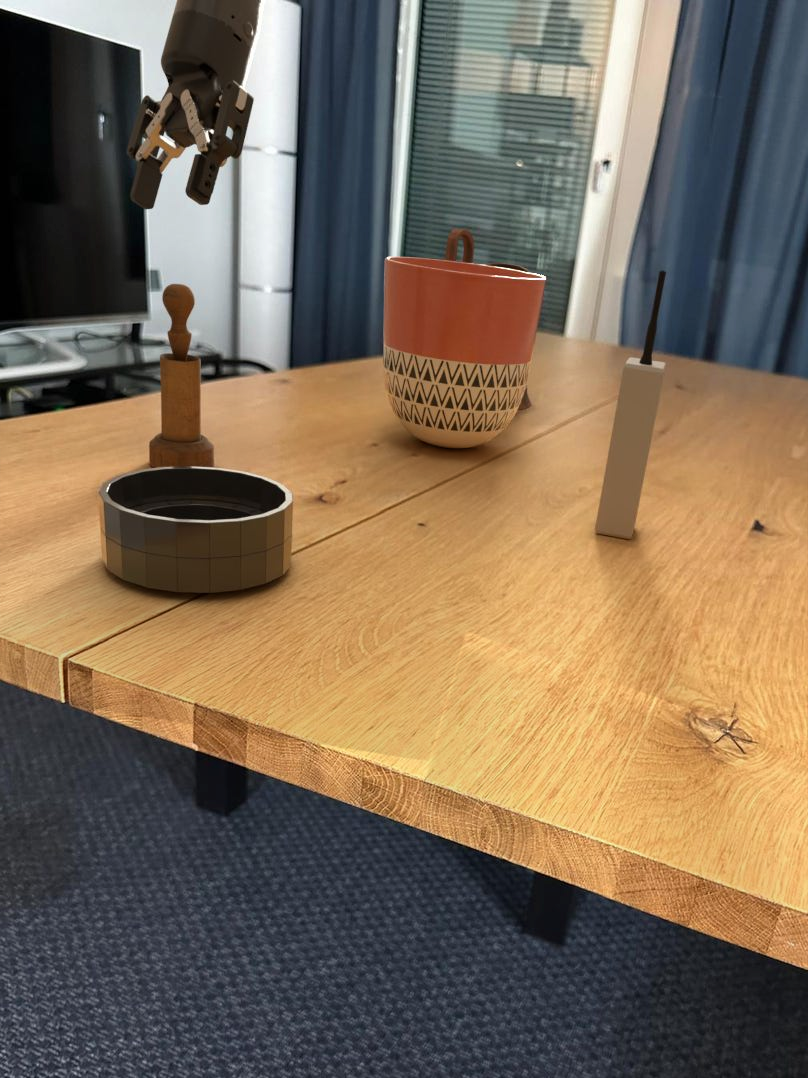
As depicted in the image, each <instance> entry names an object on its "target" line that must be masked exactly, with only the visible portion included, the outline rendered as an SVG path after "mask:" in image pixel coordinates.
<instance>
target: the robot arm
mask: <svg viewBox="0 0 808 1078" xmlns="http://www.w3.org/2000/svg"><path fill="white" fill-rule="evenodd" d="M265 3H266V0H176V3H175V6H174V8H173V9H174V10H173V13H172V17H171V21H170V25H169V28H168V32H167V35H166V39H165V43H164V46H163V50H162V54H161V57H160V66H161V69H162V72H163V73H164V75H165V78H166V80H167V83H168V85H167V88H166V91H165V92H164V95H163V96H162V98H161V100H159V101H156V100H155V99H154V98H152V97H151V96H150V95H148V94H147V95H145V96H144V97H143V98H142V100H141V103H140V106H139V109H138V112H137V116H136V119H135V122H134V125H133V129H132V132H131V135H130V138H129V141H128V144H127V148H126V155H127V156H129V157H130V158H131V159H133V160H134V161H136V162H137V169H136V172H135V176H134V179H133V183H132V186H131V190H130V194H129V198H130V200H131V201H132V202H133V203H134V204H135V205H138V206H139V207H141V208H142V209H144V210H152V209H154V207H155V203H156V200H157V196H158V193H159V189H160V185H161V182H162V178H163V172H164V170H165V169H166V168H167V166H168V165H169V163H170V162H171V161H172V159H178V158H180V157H181V156H182V154H183V153H184V151H185V150H186V149H187V148H189V147H191V146H193V145H196V148H197V151H198V152H199V153H196V154H194V156H193V161H192V164H191V168H190V171H189V175H188V179H187V183H186V186H185V190H184V191H185V195H186V196H187V197H188V198H189V199H191V201H193V202H195V203H197V204H198V205H200V206H207V205H209V204H210V202H211V198H212V195H213V193H214V191H215V186H216V182H217V179H218V175H219V171H220V168H222V167H224V166H225V165H226V164H227V161H228V159H229V158H230V157H231V158H233V159H234V160H237V159H239V157H240V156H242V153H243V148H244V144H245V141H246V135H247V131H248V127H249V123H250V119H251V114H252V109H253V105H254V101H255V98H254V96H253V95H252V94H250V93H249V92H248V91H247V90H246V83H247V80H248V77H249V73H250V69H251V65H252V61H253V58H254V54H255V50H256V48H257V47H256V46H257V43H258V40H259V36H260V32H261V25H262V17H263V11H264V6H265ZM228 128H230V129H231V130H232V135H231V136H232V137H231V138H230V137H229V136H227V134H228V133H227V132H228ZM164 134H166V136H167V137H168V138H169V139H171V140H172V141H170V140H168V138H166V137H165V136H164ZM143 139H144V141H143V142H142V140H143ZM160 149H162V152H161V153H160V154H159V152H160ZM158 155H159V156H158Z"/></svg>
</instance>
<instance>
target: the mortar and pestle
mask: <svg viewBox="0 0 808 1078" xmlns="http://www.w3.org/2000/svg"><path fill="white" fill-rule="evenodd" d="M161 296H162V298H161V301H162V304H163V306H164V309H165V310H166V312H167V314H168V315H169V317H170V321H171V326H170V329H169V330H168V331H167V338H168V342H169V343H168V344H169V346H170V350H171V353H170V352H169V353H162V354H160V355H159V369H160V370H159V371H160V405H161V407H160V408H161V409H160V416H161V417H160V418H161V419H160V422H161V423H160V424H161V425H160V427H161V432H159V433H157V434H156V435H155V436H154V437H153V438H152V439H151V440H150V441H149V442H148V443H149V444H148V453H149V454H148V456H149V458H148V459H149V460H148V462H149V465H150V466H151V467H152V468H158V467H181V466H194V467H212V468H215V467H214V466H215V447H214V444H213V442H211V441H210V440H208V438H207V437H206V436H205V435H203V434H202V417H201V416H202V414H201V413H202V405H201V404H202V403H201V402H202V391H201V390H202V389H201V388H202V383H201V381H202V373H201V372H202V371H201V370H202V367H201V365H202V363H201V362H202V361H201V357H198V356H195V355H193V354H192V355H191V354H189V350H190V346H191V343H192V336H193V334H192V332H190V330H189V329H188V327H187V323H188V320H189V317H190V315H191V313H193V310H194V307H195V305H196V299H195V295H194V293H193V291H192V289H191V288H190V287H189V286H187V285H185V284H182V283H170V284H169V285H167V286H166V287H165V288H164V289H163V292H162V295H161Z"/></svg>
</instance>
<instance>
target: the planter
mask: <svg viewBox="0 0 808 1078" xmlns="http://www.w3.org/2000/svg"><path fill="white" fill-rule="evenodd" d="M546 285H547V277H546V276H544V275H542V274H541V275H540V274H537V273H533V272H531V273H529V272H524V271H518V270H512V269H506V268H500V267H493V266H487V265H485V264H479V263H473V264H472V263H464V262H462V261H456V262H455V261H446V260H445V259H437V258H436V259H435V258H425V257H410V256H387V257H385V259H384V273H383V327H382V328H383V329H382V334H383V335H382V337H383V338H382V341H383V342H382V346H383V347H382V368H383V369H382V370H383V381H384V387H385V392H386V396H387V400H388V402H389V406H390V407H391V410H392V412H393V414H394V415H395V416H396V418H397V419H398V420H399V423H401V424H402V426H403V427H404V428H405V429H406V430H407V431H408V432H409V433H410V434H412V435H413V436H414V437H415V438H417V439H418V440H421V442H425V443H427V444H430V445H433V446H436V447H439V448H440V447H441V448H446V449H447V448H448V449H469V448H474V447H478V446H481V445H483V444H485V443H487V442H489V441H490V440H492V439H494V438H495V437H496V436H498V435H499V434H500V433H501V432H503V431H504V430H505V428H507V426H508V425H509V424H510V423H511V422H512V420H513V419H514V417H515V415H517V414H516V413H517V412H518V410H519V409H518V408H519V405H520V403H521V400H522V398H523V395H524V392H525V388H526V385H528V380H529V375H530V369H531V363H532V360H533V354H534V349H535V344H536V338H537V332H538V326H539V322H540V317H541V312H542V306H543V302H544V296H545V291H546Z"/></svg>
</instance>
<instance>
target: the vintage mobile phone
mask: <svg viewBox="0 0 808 1078" xmlns="http://www.w3.org/2000/svg"><path fill="white" fill-rule="evenodd" d="M666 275H667V271H666V270H664V269H661V270H659V272H658V277H657V282H656V288H655V293H654V299H653V304H652V310H651V314H650V315H651V316H650V319H649V322H648V326H647V329H646V335H645V341H644V346H643V352H642V355H641V358H639V357H633V356H630V357H629V358H628V359H627V360H626V362H625V364H624V365H623V369H622V373H621V379H620V386H619V390H618V396H617V400H616V401H617V403H616V408H615V413H614V418H613V425H612V431H611V435H610V441H609V446H608V453H607V459H606V464H605V470H604V475H603V481H602V485H601V493H600V498H599V503H598V509H597V515H596V521H595V526H594V532H595V534H597V535H603V536H608V537H613V538H619V539H624V540H625V539H626V540H630V539H632V537H633V533H634V530H635V526H636V523H637V518H638V512H639V507H640V501H641V496H642V490H643V487H644V486H643V485H644V482H645V481H644V480H645V475H646V470H647V465H648V461H649V455H650V450H651V445H652V439H653V435H654V429H655V424H656V419H657V415H658V411H659V410H658V409H659V404H660V400H661V395H662V389H663V385H664V380H665V374H666V369H667V363H666V361H665V362H664V361H656V360H653V350H654V346H655V340H656V337H657V336H656V334H657V330H658V318H659V312H660V307H661V302H662V301H661V300H662V296H663V290H664V285H665V280H666Z"/></svg>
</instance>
